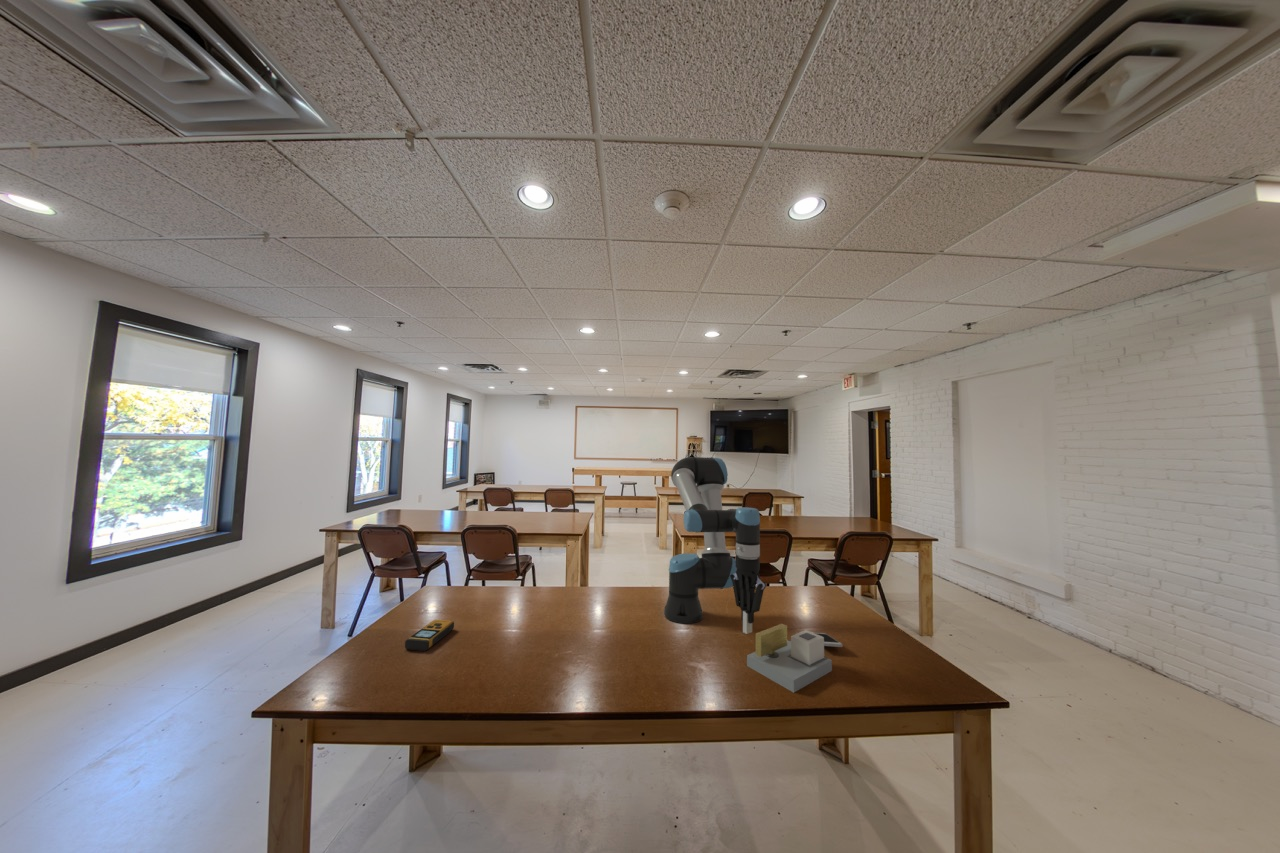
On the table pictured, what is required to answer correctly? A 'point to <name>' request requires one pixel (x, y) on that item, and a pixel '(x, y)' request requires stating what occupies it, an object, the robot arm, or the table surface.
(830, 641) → the smartphone
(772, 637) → the yellow rectangular block
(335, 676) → the table surface
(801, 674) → the housing
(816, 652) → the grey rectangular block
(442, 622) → the electronic device
